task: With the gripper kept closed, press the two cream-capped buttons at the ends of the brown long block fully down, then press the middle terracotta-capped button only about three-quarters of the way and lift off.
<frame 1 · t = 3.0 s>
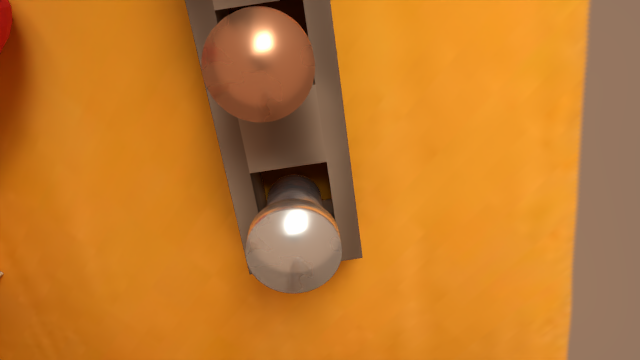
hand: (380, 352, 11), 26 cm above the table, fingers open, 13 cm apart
plug mid terracotta: (263, 56, 25), point 8 cm above the table, slide at 0.0 cm
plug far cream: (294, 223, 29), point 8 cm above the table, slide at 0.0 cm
brown long block: (270, 38, 33), on the table
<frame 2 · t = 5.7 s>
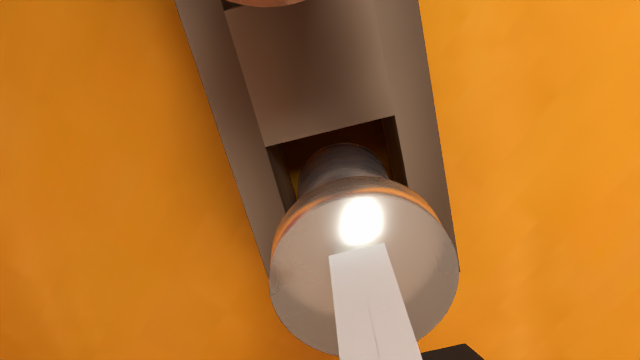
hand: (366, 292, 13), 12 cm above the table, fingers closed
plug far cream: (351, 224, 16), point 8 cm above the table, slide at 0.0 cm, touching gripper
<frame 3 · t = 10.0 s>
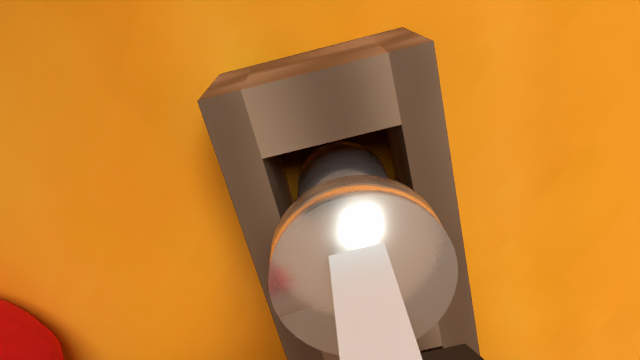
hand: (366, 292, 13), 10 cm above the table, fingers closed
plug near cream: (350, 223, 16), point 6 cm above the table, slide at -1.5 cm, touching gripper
brown long block: (378, 326, 26), on the table
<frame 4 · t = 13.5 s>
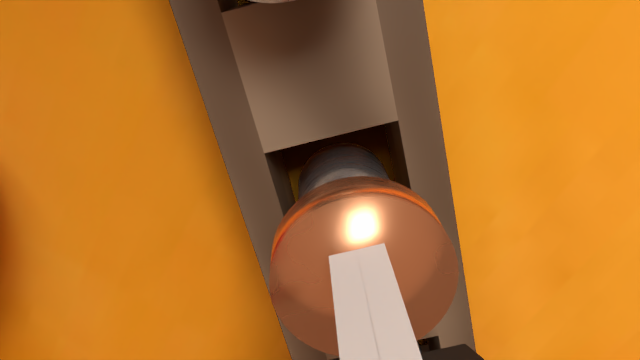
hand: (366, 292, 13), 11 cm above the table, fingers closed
plug mid terracotta: (351, 224, 16), point 7 cm above the table, slide at -0.7 cm, touching gripper
brown long block: (336, 154, 23), on the table
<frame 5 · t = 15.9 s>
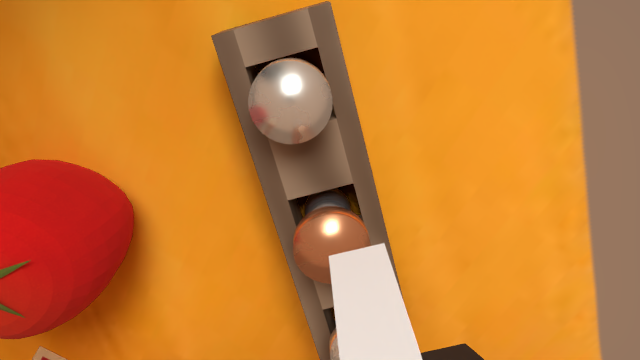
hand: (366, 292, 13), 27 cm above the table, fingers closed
plug mid terracotta: (329, 227, 36), point 6 cm above the table, slide at -2.0 cm
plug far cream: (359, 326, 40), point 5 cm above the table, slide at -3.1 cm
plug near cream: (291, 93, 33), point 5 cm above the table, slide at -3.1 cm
brown long block: (326, 195, 41), on the table
tomato: (77, 202, 41), on the table
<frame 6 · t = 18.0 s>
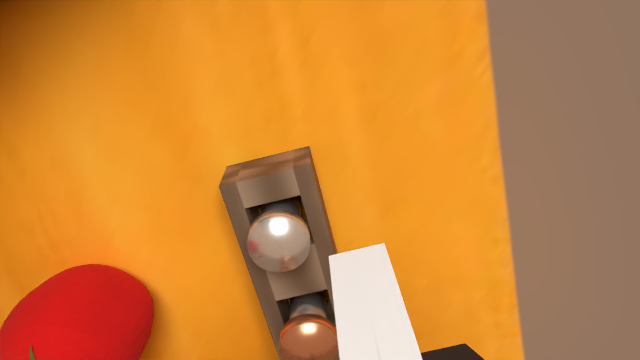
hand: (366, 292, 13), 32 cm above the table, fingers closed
plug mid terracotta: (308, 322, 46), point 6 cm above the table, slide at -2.0 cm
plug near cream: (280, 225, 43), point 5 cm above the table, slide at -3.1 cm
brown long block: (307, 286, 51), on the table
tomato: (105, 289, 51), on the table
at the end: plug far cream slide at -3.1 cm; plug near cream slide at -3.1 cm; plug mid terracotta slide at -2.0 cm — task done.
